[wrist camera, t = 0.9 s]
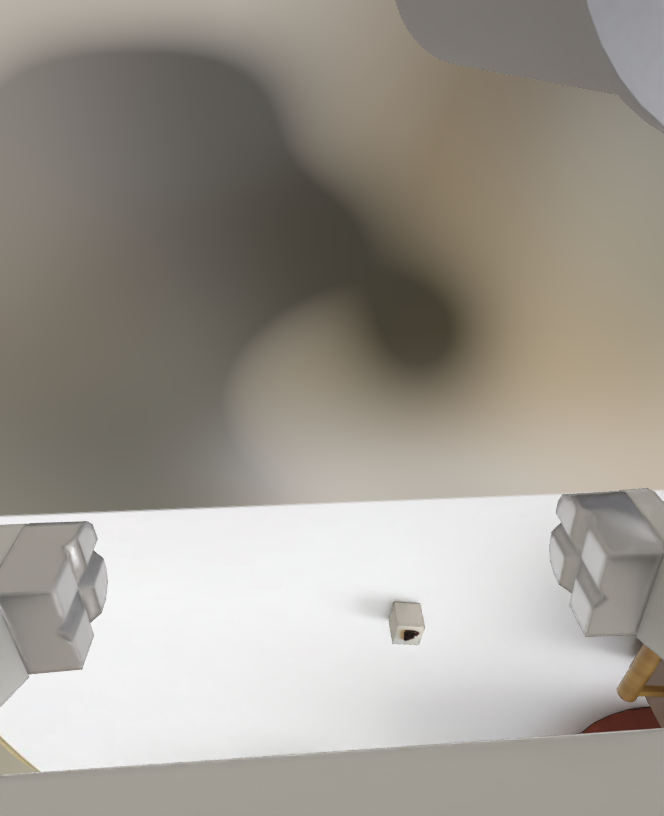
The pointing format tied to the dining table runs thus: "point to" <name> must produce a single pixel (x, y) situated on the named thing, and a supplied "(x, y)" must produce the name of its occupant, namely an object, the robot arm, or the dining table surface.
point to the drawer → (645, 681)
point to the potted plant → (626, 721)
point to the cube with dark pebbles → (406, 623)
